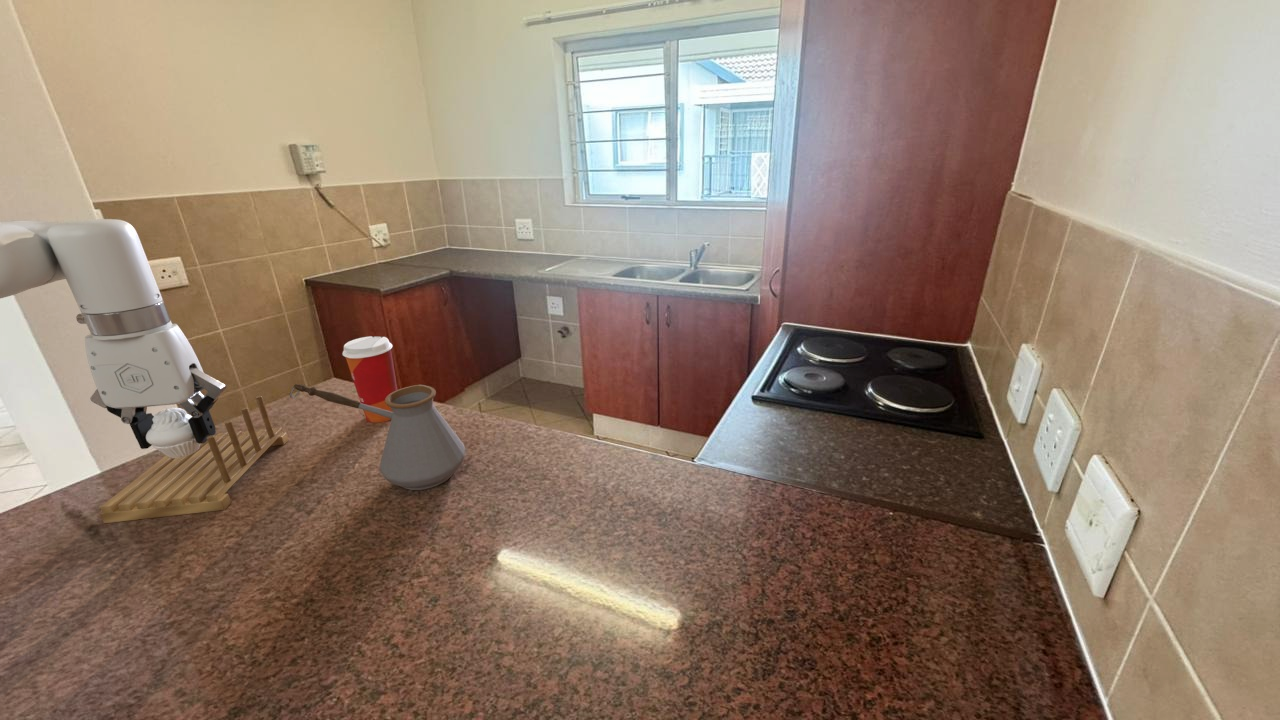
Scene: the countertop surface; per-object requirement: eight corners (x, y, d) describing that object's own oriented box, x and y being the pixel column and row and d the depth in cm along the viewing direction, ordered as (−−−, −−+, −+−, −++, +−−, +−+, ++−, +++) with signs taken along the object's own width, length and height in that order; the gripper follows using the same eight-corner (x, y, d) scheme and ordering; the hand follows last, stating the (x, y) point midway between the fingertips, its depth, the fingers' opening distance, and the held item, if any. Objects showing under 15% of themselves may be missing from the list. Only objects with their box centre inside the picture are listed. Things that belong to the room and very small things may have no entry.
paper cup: (377, 404, 94) (360, 334, 89) (414, 406, 93) (400, 335, 88) (349, 424, 87) (329, 349, 82) (389, 427, 86) (372, 351, 81)
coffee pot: (477, 451, 79) (462, 363, 73) (454, 497, 68) (435, 398, 62) (339, 455, 78) (314, 367, 72) (295, 503, 67) (261, 403, 62)
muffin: (208, 455, 71) (191, 411, 68) (151, 469, 68) (130, 424, 65) (214, 436, 75) (198, 395, 73) (161, 448, 72) (142, 405, 70)
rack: (103, 523, 64) (70, 460, 61) (194, 448, 81) (172, 396, 77) (224, 510, 66) (199, 448, 63) (288, 440, 83) (271, 388, 79)
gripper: (22, 333, 59) (87, 462, 66) (186, 324, 62) (232, 449, 69) (76, 315, 66) (130, 434, 73) (222, 307, 69) (261, 422, 76)
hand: (179, 440), depth 71 cm, fingers closed on muffin, 6 cm apart
